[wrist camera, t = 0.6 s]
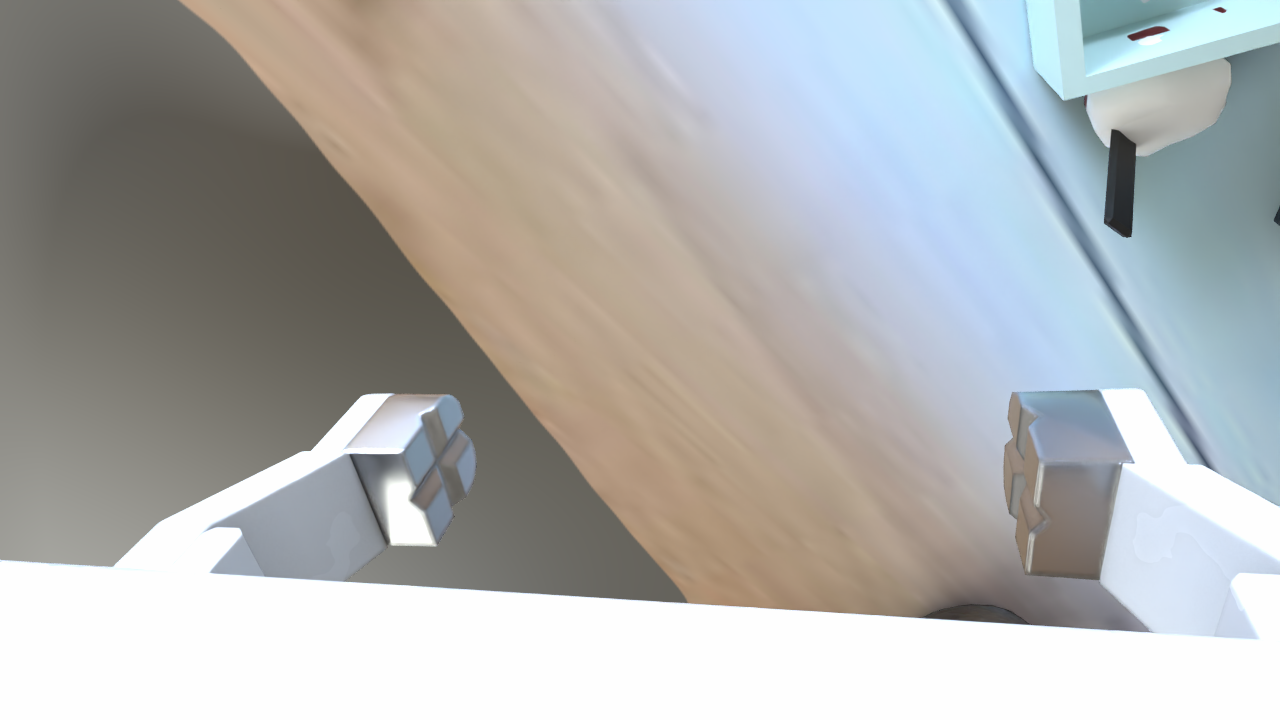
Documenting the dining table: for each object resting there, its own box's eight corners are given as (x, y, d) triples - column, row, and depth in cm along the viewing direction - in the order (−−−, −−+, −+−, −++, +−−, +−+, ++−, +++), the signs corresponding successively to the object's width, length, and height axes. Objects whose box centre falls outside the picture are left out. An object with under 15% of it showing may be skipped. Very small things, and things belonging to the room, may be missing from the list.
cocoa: (1196, -22, 42) (1306, 15, 32) (1238, 80, 44) (1353, 144, 34) (1017, 82, 46) (1064, 143, 36) (1061, 170, 48) (1118, 251, 38)
